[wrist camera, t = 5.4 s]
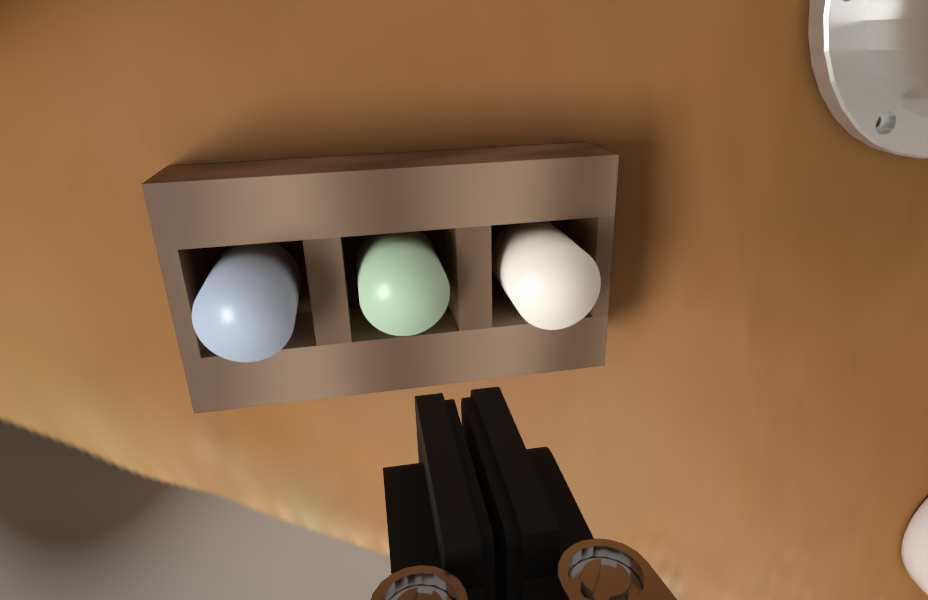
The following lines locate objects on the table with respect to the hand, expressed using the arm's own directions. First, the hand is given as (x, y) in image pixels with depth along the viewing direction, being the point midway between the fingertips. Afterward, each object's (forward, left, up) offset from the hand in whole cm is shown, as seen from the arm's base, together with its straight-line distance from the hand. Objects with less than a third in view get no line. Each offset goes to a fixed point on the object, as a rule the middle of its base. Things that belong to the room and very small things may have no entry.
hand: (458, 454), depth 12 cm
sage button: (0, 0, -13) cm, 13 cm away
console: (0, 0, -13) cm, 13 cm away
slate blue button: (+5, 0, -13) cm, 14 cm away
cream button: (-5, 0, -13) cm, 14 cm away
